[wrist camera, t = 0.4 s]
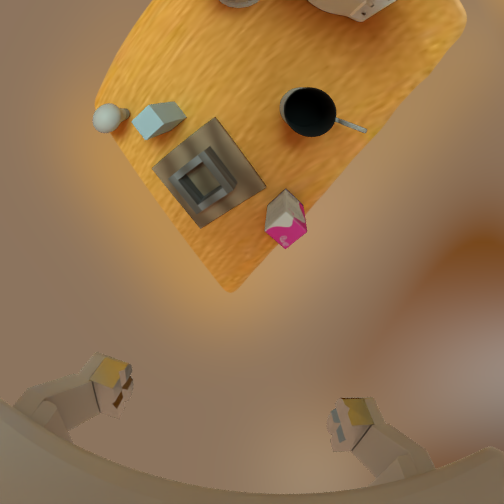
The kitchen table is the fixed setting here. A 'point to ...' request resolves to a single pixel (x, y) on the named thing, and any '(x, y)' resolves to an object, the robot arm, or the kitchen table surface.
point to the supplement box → (285, 219)
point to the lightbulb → (109, 117)
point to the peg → (158, 119)
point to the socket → (208, 174)
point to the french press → (238, 3)
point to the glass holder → (311, 112)
